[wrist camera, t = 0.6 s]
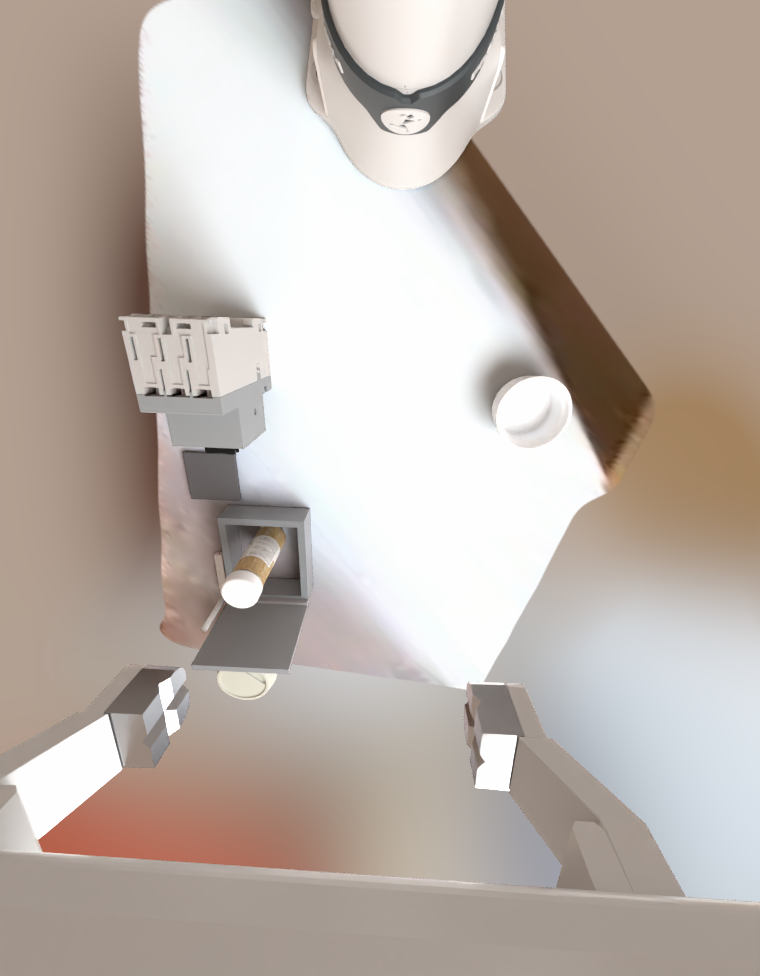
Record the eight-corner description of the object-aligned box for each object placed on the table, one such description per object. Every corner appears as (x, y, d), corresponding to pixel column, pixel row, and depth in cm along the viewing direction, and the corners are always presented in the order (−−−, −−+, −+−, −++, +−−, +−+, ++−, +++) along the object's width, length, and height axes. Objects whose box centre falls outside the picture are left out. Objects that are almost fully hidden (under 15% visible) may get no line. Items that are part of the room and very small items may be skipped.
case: (221, 504, 54) (159, 571, 39) (309, 508, 54) (279, 577, 39) (234, 585, 60) (184, 669, 45) (313, 588, 60) (288, 674, 45)
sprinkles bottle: (272, 553, 57) (240, 615, 45) (250, 533, 56) (211, 592, 44) (293, 537, 56) (265, 597, 44) (271, 517, 55) (237, 573, 42)
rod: (217, 550, 58) (213, 555, 57) (224, 551, 58) (221, 555, 57) (222, 586, 61) (219, 591, 60) (230, 586, 61) (227, 591, 60)
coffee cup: (299, 635, 64) (280, 699, 53) (253, 641, 65) (225, 705, 54) (284, 597, 61) (261, 657, 50) (236, 604, 62) (203, 664, 51)
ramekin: (556, 364, 45) (573, 368, 41) (557, 433, 48) (572, 443, 45) (484, 379, 46) (492, 384, 42) (490, 446, 49) (498, 456, 45)
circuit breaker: (220, 432, 50) (155, 474, 36) (202, 316, 44) (117, 312, 30) (275, 435, 49) (231, 477, 36) (265, 318, 44) (208, 316, 30)
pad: (184, 451, 51) (182, 452, 50) (235, 453, 51) (233, 454, 50) (193, 497, 54) (191, 498, 53) (241, 499, 53) (239, 501, 53)
